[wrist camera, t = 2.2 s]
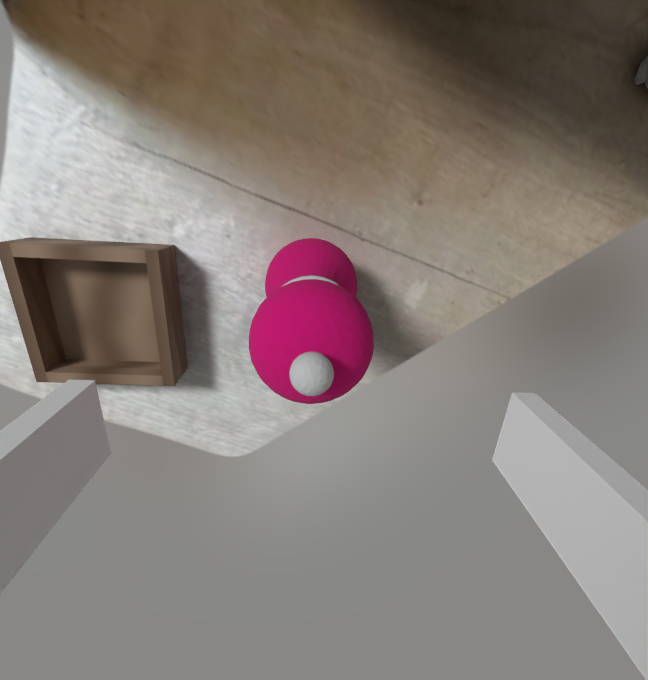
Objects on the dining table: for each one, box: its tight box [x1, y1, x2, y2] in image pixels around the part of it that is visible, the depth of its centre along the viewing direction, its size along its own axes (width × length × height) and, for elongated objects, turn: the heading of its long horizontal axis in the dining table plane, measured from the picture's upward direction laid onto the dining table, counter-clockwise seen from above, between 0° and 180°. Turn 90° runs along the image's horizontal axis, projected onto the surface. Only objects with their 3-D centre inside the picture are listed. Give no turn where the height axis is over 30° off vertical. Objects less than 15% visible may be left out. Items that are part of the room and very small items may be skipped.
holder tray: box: [0, 238, 187, 386], centre depth 30 cm, size 12×12×4 cm
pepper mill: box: [249, 238, 374, 404], centre depth 22 cm, size 7×7×20 cm
